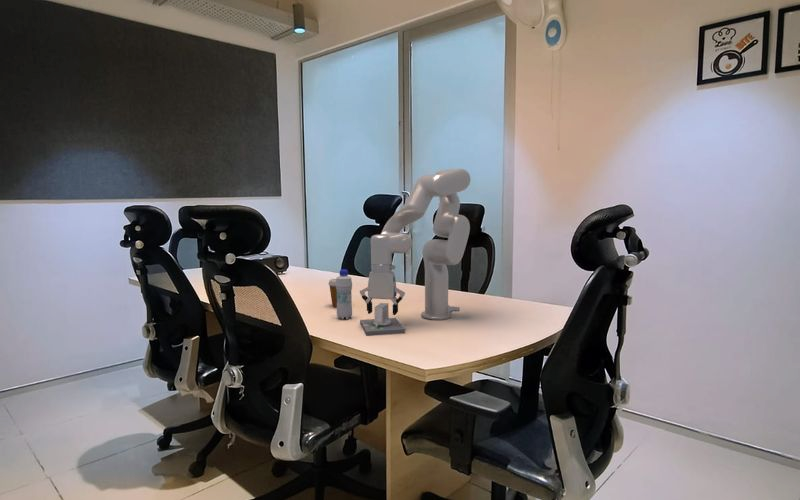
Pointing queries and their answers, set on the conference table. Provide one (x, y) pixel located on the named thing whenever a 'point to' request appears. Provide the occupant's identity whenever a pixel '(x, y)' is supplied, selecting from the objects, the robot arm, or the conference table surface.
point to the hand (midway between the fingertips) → (382, 313)
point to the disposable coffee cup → (333, 292)
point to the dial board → (382, 327)
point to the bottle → (344, 295)
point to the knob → (381, 315)
